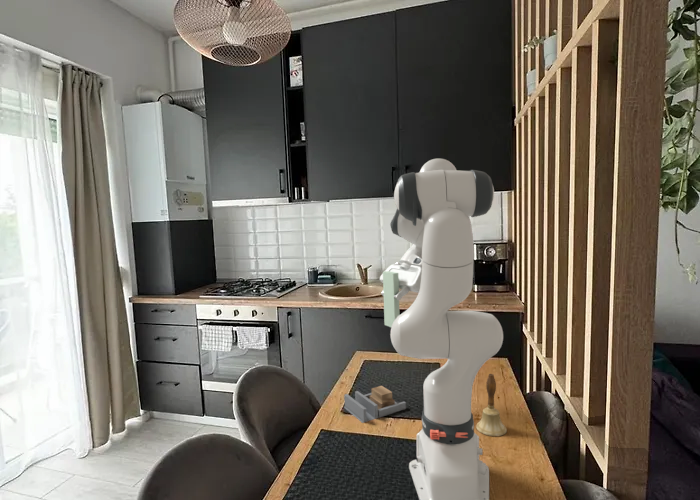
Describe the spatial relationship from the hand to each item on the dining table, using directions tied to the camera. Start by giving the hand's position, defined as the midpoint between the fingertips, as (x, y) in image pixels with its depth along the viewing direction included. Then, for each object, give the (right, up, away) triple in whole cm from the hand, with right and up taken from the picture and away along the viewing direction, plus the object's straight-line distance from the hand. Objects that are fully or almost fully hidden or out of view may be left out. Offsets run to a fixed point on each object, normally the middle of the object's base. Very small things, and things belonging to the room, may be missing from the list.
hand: (389, 297), depth 132 cm
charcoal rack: (-5, -36, -3) cm, 36 cm away
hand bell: (+28, -36, -17) cm, 48 cm away
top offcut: (-3, -32, -2) cm, 32 cm away
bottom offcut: (-3, -35, -2) cm, 35 cm away
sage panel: (+1, -10, +1) cm, 10 cm away
